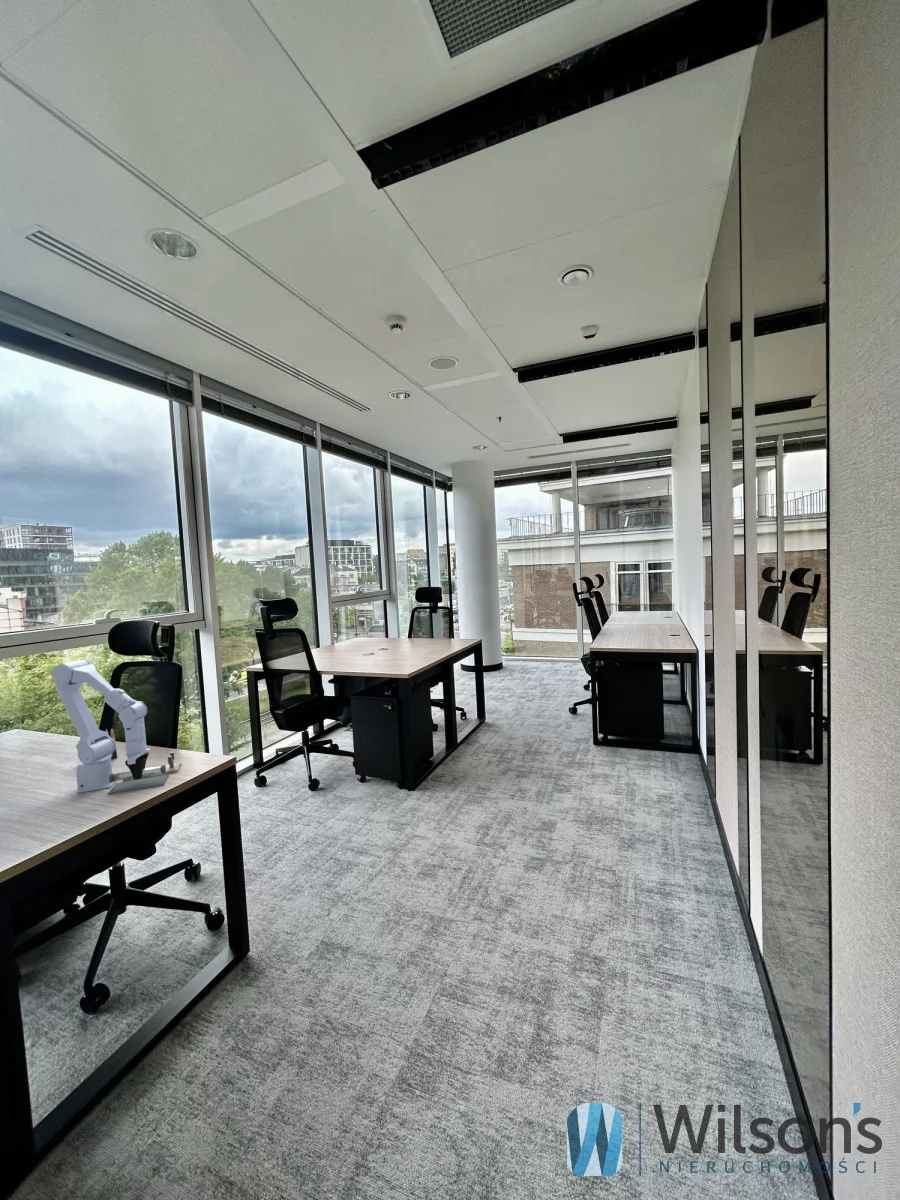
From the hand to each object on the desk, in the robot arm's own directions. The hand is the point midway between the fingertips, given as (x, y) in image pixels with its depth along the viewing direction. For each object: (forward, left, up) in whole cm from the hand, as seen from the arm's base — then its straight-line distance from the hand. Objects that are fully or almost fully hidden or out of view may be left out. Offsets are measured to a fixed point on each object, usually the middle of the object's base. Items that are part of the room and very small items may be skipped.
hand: (139, 777), depth 161 cm
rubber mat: (0, 0, -3) cm, 3 cm away
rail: (0, 0, 0) cm, 0 cm away
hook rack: (+2, +10, -3) cm, 11 cm away
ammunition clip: (-21, +34, -3) cm, 40 cm away
